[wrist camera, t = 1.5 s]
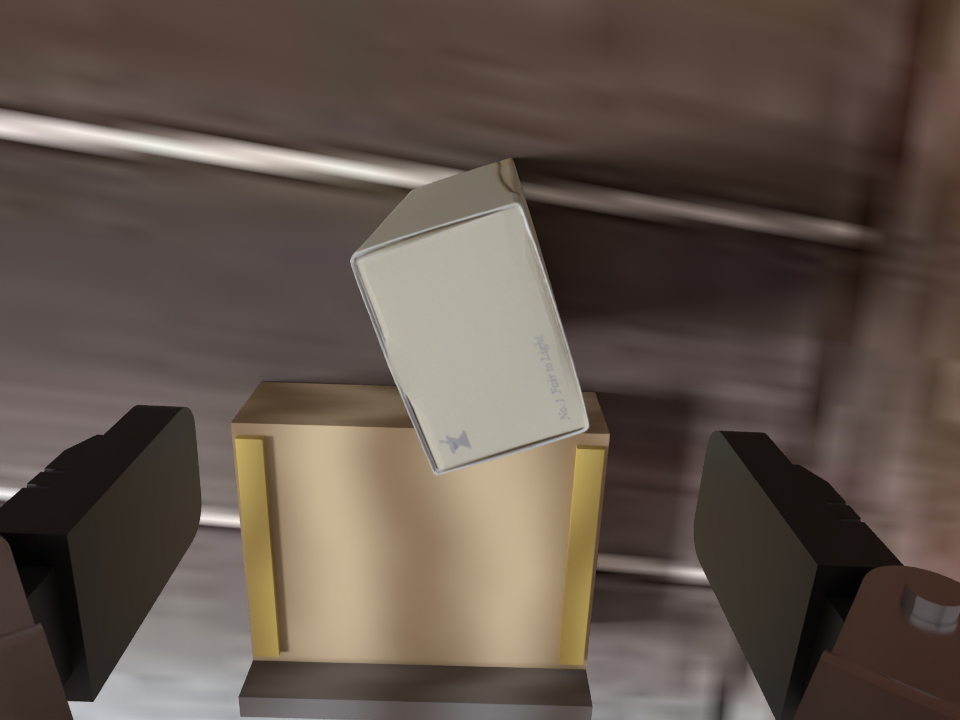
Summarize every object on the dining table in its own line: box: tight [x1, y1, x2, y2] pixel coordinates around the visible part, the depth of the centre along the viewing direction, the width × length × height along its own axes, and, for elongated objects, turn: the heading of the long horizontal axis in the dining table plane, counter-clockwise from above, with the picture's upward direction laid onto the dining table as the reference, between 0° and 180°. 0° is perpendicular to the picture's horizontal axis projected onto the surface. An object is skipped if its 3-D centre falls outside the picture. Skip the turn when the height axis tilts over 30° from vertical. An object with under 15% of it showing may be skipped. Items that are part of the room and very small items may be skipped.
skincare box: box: [350, 158, 590, 476], centre depth 24 cm, size 6×4×12 cm
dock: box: [231, 382, 610, 720], centre depth 31 cm, size 14×12×6 cm
